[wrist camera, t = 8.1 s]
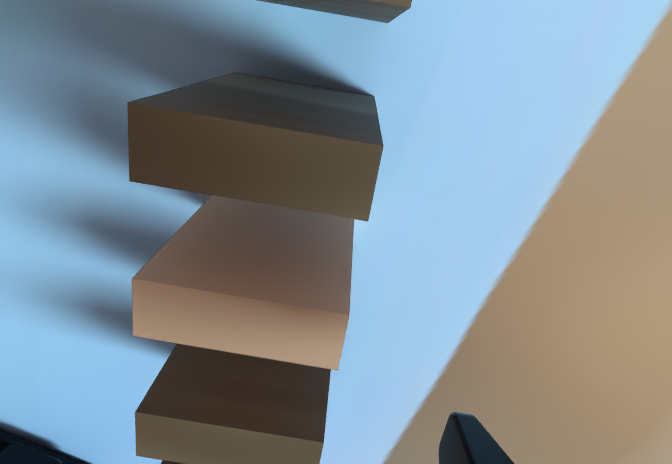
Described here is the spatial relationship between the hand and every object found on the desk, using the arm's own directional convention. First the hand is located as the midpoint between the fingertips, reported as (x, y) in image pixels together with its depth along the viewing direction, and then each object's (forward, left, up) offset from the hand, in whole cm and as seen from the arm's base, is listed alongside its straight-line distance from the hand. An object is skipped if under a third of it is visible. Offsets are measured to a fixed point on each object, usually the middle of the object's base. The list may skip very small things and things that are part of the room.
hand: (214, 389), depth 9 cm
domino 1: (+4, +1, -10) cm, 11 cm away
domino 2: (0, 0, -10) cm, 10 cm away
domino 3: (-4, -1, -10) cm, 11 cm away
